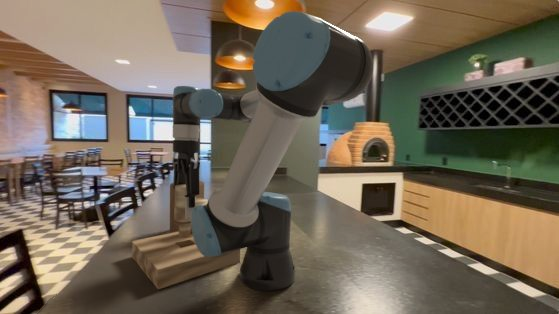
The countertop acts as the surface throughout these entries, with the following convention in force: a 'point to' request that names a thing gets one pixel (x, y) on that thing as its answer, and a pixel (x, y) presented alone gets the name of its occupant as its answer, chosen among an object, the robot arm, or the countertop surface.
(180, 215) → the peg
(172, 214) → the block
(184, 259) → the seat board
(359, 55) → the robot arm
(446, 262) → the countertop surface
